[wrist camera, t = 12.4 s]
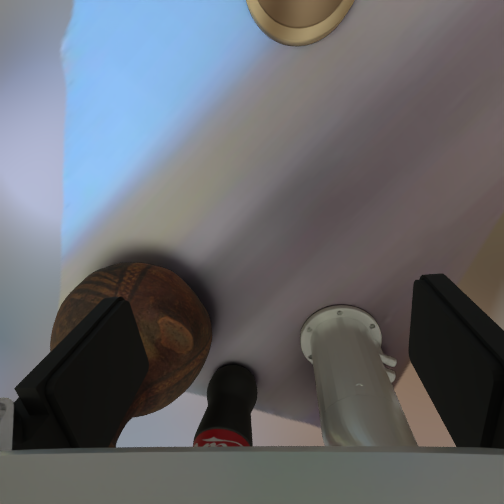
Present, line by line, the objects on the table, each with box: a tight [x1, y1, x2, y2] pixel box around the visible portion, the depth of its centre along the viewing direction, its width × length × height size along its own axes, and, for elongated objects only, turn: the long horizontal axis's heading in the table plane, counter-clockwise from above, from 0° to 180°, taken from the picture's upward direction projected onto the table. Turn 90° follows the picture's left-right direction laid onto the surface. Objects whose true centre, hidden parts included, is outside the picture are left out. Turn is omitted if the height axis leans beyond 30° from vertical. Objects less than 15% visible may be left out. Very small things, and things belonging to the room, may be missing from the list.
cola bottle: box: [193, 365, 257, 447], centre depth 42 cm, size 8×8×30 cm
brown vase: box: [50, 262, 212, 448], centre depth 37 cm, size 22×22×30 cm
